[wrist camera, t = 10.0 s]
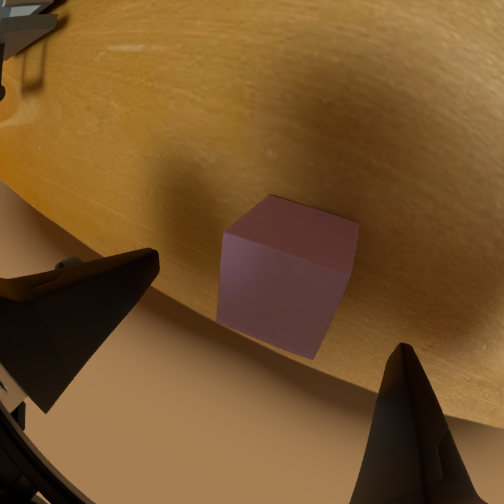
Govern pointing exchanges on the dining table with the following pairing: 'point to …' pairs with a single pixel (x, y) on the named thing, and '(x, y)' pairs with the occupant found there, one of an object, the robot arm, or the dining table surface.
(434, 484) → the robot arm
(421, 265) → the dining table surface
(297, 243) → the cube
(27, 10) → the drawer
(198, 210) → the dining table surface
